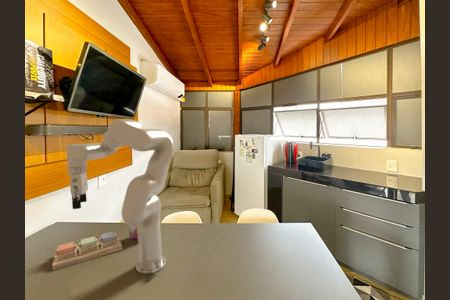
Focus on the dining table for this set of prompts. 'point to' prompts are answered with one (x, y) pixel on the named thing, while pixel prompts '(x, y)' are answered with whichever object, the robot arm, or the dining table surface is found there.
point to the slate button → (108, 237)
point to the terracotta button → (65, 248)
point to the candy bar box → (133, 232)
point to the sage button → (88, 242)
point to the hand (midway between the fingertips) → (80, 205)
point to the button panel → (86, 253)
